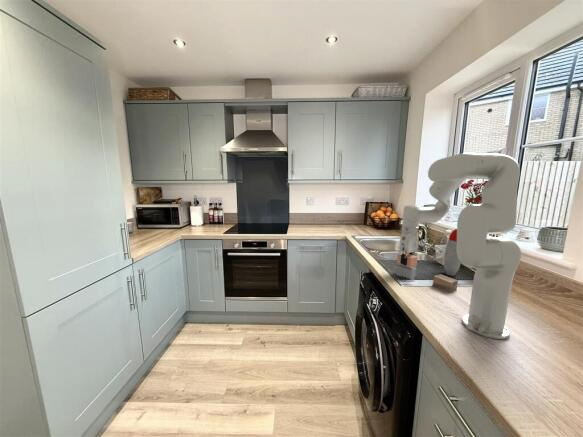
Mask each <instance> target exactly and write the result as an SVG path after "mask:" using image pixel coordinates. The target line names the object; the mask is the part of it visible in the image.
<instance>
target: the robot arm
mask: <svg viewBox="0 0 583 437" xmlns="http://www.w3.org/2000/svg"><path fill="white" fill-rule="evenodd" d="M520 174H521V169H520V165H519V163H518V162H517V160H516V159H515V158H513V157H511V156H509V155H506V154H501V153H487V152H484V153H483V152H482V153H479V152H478V153H476V152H464V153H458V154H453V155H451V156H448V157H444V158H440V159H437V160H435V161H433V163H432V164H431V165H430V166H429V168H428V171H427V177H428V179H429V180H430V181H432V182H433V183H432V184H431V185H430V186H429V188H428V191H429V194H430V195H431V197H432V198H433V199H435V200H437V201H436V203H435V204H434V205H433V206H419V205H409V204H408V205H405V206H404V207H403V213H402V224H401V235H400V239H399V250H398V253H399V254H400V257H401V261H400V264H402V265H405V266H406V265H407V258H406V257H407V254H411V255H414V256H416V255H415V254H416V251H418V250H419V239H420V238H419V228H420V227H419V226H420V223H421V224H424V223H438V222H439V221H441V220H442V219H443V218H444V217H445V216H446V214H447V213H448V212H449V210H450V207H451V199H450V198H451V197H452V195H453V194H454V193H455V192H456V190H458V189H459V187H461V185H462V184H463V183H464V181H465V180H467V179H468V180H488V181H486V183H485V184H484V186H483V189H482V192H481V203H478V204H477V203H474V204H470V205H467V206H466V207H464V208H463V209H462V210H461V211H460V213H459V215H458V218H457V222H456V223H457V224H456V229H457V256H458V258H459V260H460V262H461V263H460V264H462V265H463V266H465V267H467V268H470V269H476V271H475V272H474V276H473V282H472V286H471V287H472V288H471V295H470V302H469V309H468V313H467V314H465V315H463V316H462V319H461V322H462V325H464V326H465V327H466V328H467V330H469V331H472V332H474V333H475V334H477V335H480V336H483V337H484V338H485V337H486V338H490V339H493V340H505V339H509V337H510V334H511V331H510V330H509V328H508V327H507V326H506V325H505V324H506V320H507V319H506V318H507V313H508V308H509V301H510V296H511V290H512V287H513V286H512V285H513V280H514V276H515V273H516V271H517V268H518V267H519V265H520V262H521V258H522V252H521V251H522V250H521V249H520V246H519V245H518V244H517V243H516V242H515V241H514V240H511V239H509V238H505V237H499V236H498V237H496V236H495V237H488V234H489V235H492V234H493V235H495V234H496V235H498V234H505V233H509V232H512V230H514V229H515V227H516V225H517V224H516V223H517V214H518V213H517V209H518V188H519V187H518V186H519V182H520V181H519V180H520ZM404 253H405V254H404ZM400 264H399V265H400Z"/></svg>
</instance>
